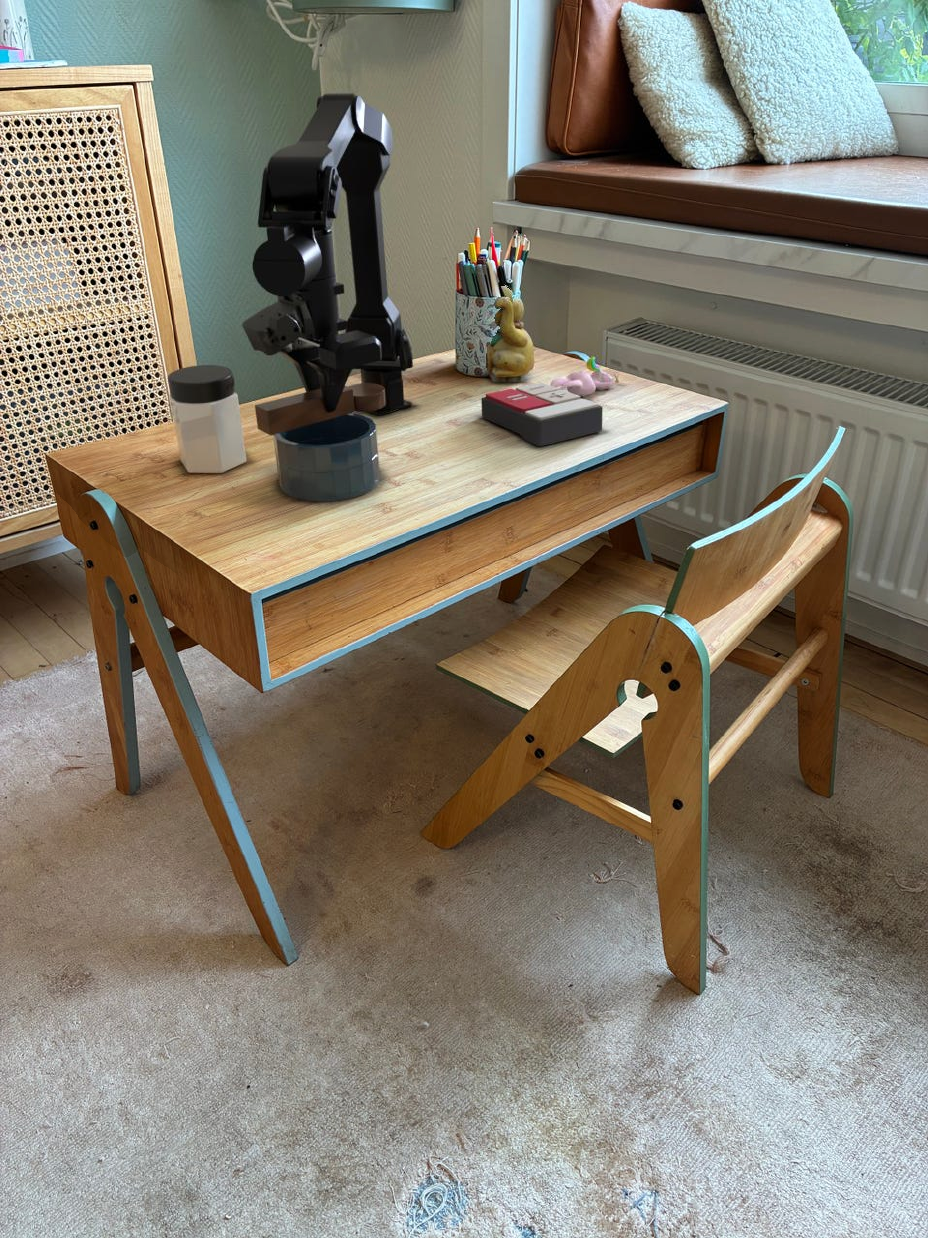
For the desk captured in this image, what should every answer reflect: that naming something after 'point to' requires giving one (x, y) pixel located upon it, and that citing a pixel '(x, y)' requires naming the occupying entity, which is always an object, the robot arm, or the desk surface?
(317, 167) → the robot arm
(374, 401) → the spoon
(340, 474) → the pot
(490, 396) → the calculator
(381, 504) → the desk surface
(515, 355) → the decorative figurine
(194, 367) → the jar
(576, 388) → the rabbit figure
